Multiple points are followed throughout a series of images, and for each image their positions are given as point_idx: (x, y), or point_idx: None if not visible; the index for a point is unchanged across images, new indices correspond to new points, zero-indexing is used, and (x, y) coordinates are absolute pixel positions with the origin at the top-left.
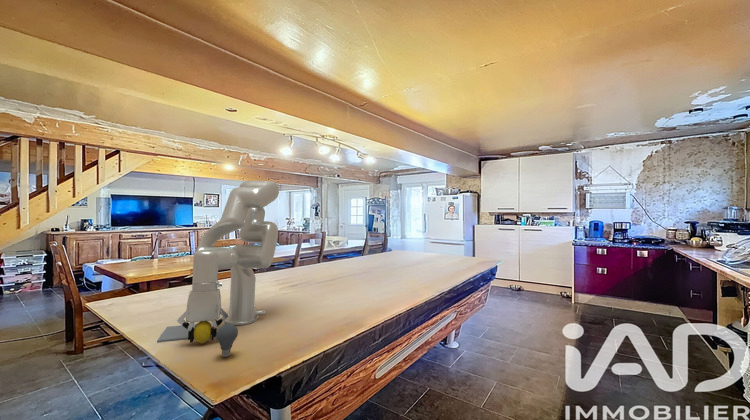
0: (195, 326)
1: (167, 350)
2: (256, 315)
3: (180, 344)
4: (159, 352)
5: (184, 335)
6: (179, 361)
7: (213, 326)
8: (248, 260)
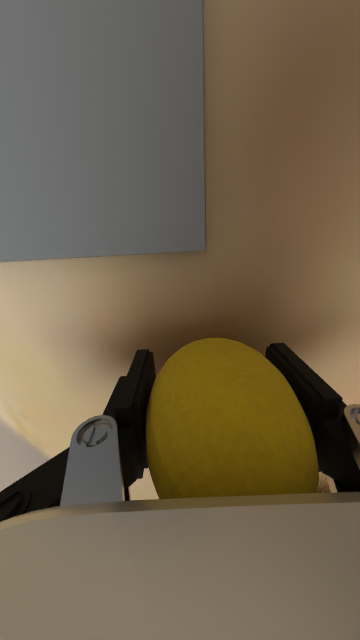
0: (158, 494)
1: (51, 398)
2: None
3: (84, 337)
4: (23, 410)
5: (46, 198)
6: (148, 497)
7: (333, 492)
8: None
